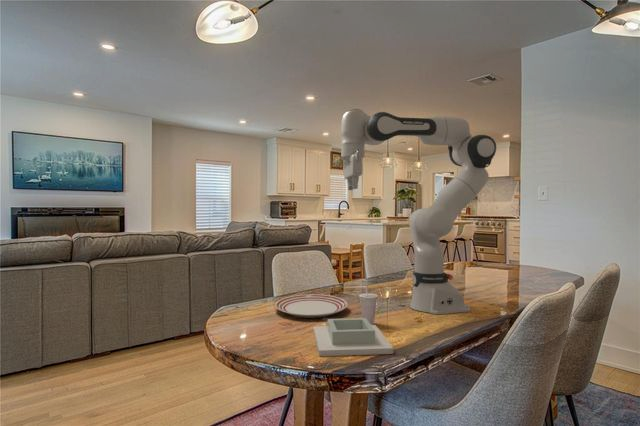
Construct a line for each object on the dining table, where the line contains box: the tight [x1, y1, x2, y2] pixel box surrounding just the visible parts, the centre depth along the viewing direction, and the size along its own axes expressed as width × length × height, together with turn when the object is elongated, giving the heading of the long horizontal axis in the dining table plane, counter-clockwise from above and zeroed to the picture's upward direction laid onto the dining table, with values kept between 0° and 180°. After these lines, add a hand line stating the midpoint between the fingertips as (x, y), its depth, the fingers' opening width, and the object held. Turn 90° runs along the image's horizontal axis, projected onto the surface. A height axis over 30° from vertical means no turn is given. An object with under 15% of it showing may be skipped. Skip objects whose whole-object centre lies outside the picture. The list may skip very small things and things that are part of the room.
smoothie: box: [358, 282, 379, 325], centre depth 126 cm, size 6×6×14 cm
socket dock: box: [312, 317, 394, 357], centre depth 109 cm, size 20×20×5 cm
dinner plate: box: [274, 293, 348, 319], centre depth 143 cm, size 27×27×3 cm
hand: (352, 189), depth 142 cm, fingers open, 8 cm apart
